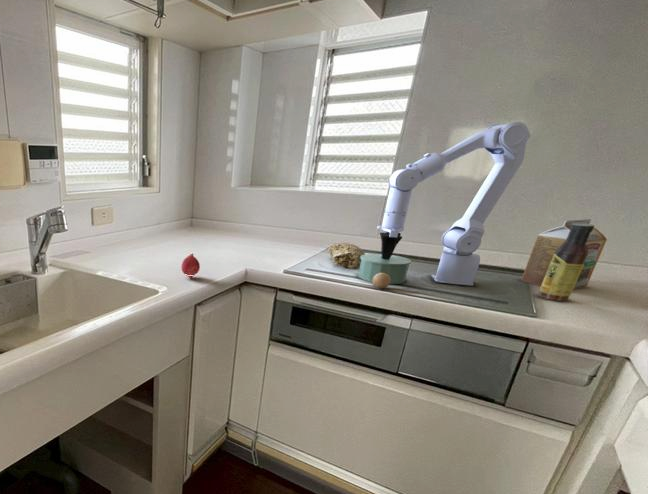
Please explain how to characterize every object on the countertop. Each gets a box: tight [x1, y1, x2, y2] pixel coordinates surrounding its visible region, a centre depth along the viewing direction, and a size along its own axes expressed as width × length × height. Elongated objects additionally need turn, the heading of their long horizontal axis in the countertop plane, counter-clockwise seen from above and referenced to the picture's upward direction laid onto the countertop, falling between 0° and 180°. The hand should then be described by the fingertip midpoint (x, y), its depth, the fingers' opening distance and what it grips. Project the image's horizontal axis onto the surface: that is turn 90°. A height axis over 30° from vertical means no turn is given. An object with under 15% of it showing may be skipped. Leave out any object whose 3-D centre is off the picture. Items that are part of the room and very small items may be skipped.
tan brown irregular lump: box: [327, 242, 366, 269], centre depth 147 cm, size 13×8×20 cm
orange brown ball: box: [372, 273, 391, 289], centre depth 118 cm, size 5×5×5 cm
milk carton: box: [520, 218, 608, 290], centre depth 118 cm, size 11×11×19 cm
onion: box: [181, 252, 201, 279], centre depth 128 cm, size 6×6×8 cm
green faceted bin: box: [357, 260, 410, 285], centre depth 127 cm, size 13×13×6 cm
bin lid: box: [360, 253, 412, 266], centre depth 125 cm, size 14×14×5 cm
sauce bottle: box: [538, 223, 595, 302], centre depth 105 cm, size 6×6×20 cm
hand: (385, 256), depth 126 cm, fingers closed on bin lid, 2 cm apart
